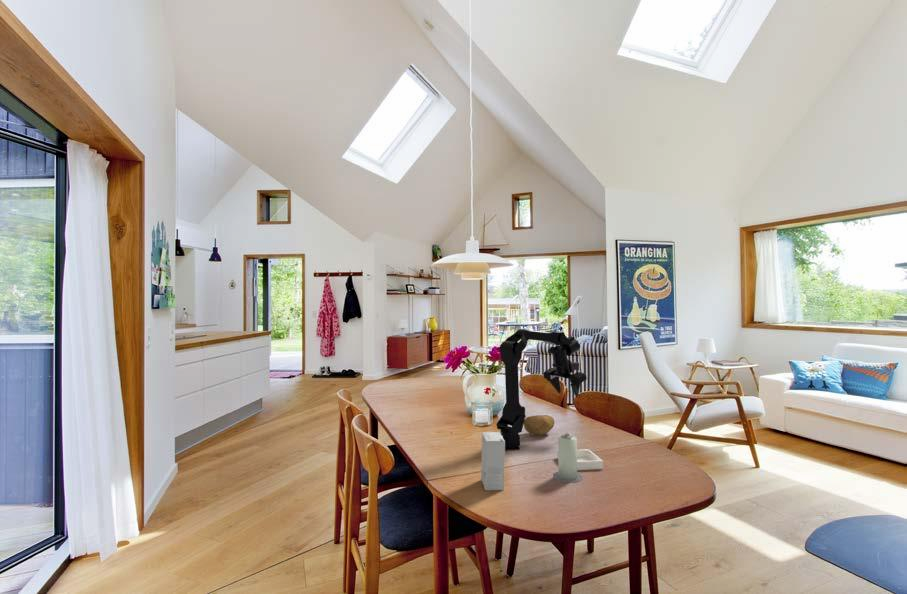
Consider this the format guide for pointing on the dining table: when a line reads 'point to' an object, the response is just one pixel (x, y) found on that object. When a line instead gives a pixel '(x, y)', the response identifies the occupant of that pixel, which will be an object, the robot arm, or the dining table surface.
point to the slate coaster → (579, 478)
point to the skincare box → (493, 461)
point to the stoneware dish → (587, 460)
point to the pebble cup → (567, 457)
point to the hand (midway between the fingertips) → (568, 394)
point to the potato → (538, 424)
